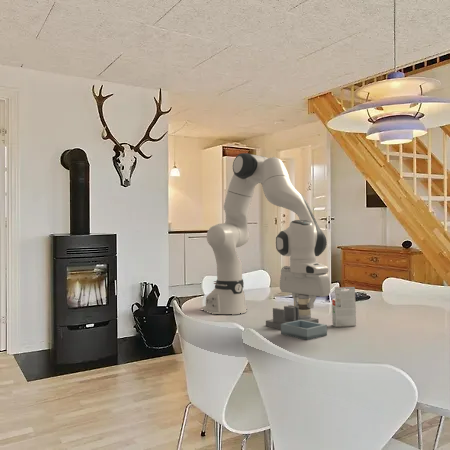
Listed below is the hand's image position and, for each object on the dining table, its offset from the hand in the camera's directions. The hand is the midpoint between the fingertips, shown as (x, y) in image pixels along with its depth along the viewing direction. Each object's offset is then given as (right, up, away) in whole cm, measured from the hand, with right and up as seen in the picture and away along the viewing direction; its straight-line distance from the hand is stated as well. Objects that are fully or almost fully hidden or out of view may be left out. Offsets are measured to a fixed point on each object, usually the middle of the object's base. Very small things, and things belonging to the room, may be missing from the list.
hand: (304, 307), depth 159 cm
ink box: (+17, -9, +12) cm, 23 cm away
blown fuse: (0, -4, 0) cm, 4 cm away
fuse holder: (-2, -10, +15) cm, 18 cm away
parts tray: (0, -9, 0) cm, 9 cm away
